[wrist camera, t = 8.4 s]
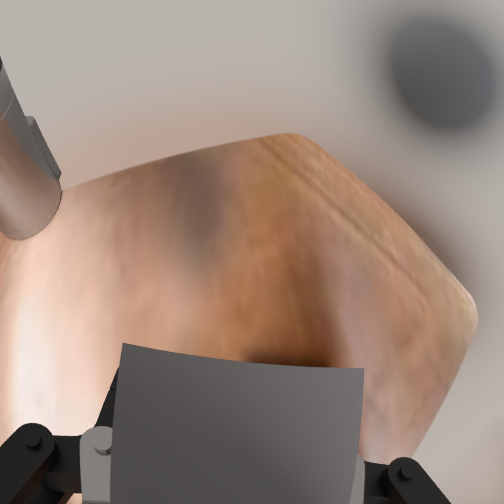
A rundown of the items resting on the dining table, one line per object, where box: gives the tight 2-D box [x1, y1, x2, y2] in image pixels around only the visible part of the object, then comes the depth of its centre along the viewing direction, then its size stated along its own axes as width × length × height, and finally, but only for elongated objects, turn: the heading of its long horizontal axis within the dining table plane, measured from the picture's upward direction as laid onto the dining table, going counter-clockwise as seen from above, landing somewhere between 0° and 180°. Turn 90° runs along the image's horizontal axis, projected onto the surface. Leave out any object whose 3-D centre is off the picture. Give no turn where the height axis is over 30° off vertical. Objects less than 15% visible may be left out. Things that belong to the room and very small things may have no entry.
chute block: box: [110, 343, 364, 504], centre depth 9 cm, size 4×4×10 cm
